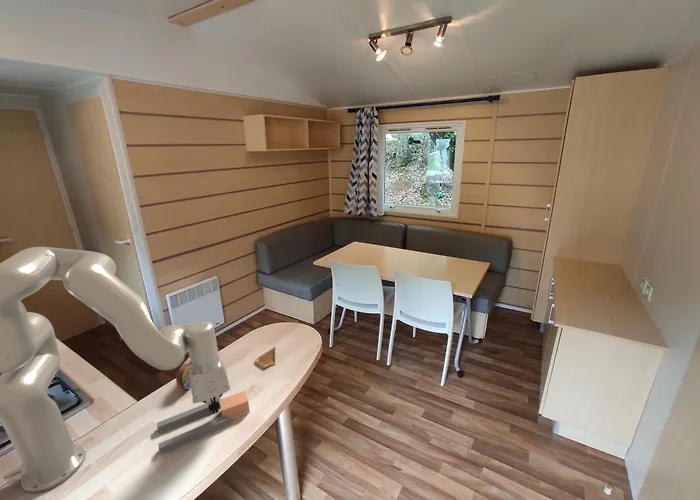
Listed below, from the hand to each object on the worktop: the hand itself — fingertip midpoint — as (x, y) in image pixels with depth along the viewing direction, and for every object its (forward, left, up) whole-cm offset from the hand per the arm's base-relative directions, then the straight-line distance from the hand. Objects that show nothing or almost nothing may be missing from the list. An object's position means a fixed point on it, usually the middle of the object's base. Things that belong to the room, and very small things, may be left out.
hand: (214, 410), depth 100 cm
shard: (+22, +19, -4) cm, 29 cm away
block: (+6, -1, -3) cm, 6 cm away
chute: (-7, 0, -3) cm, 7 cm away
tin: (-4, +22, -3) cm, 23 cm away
